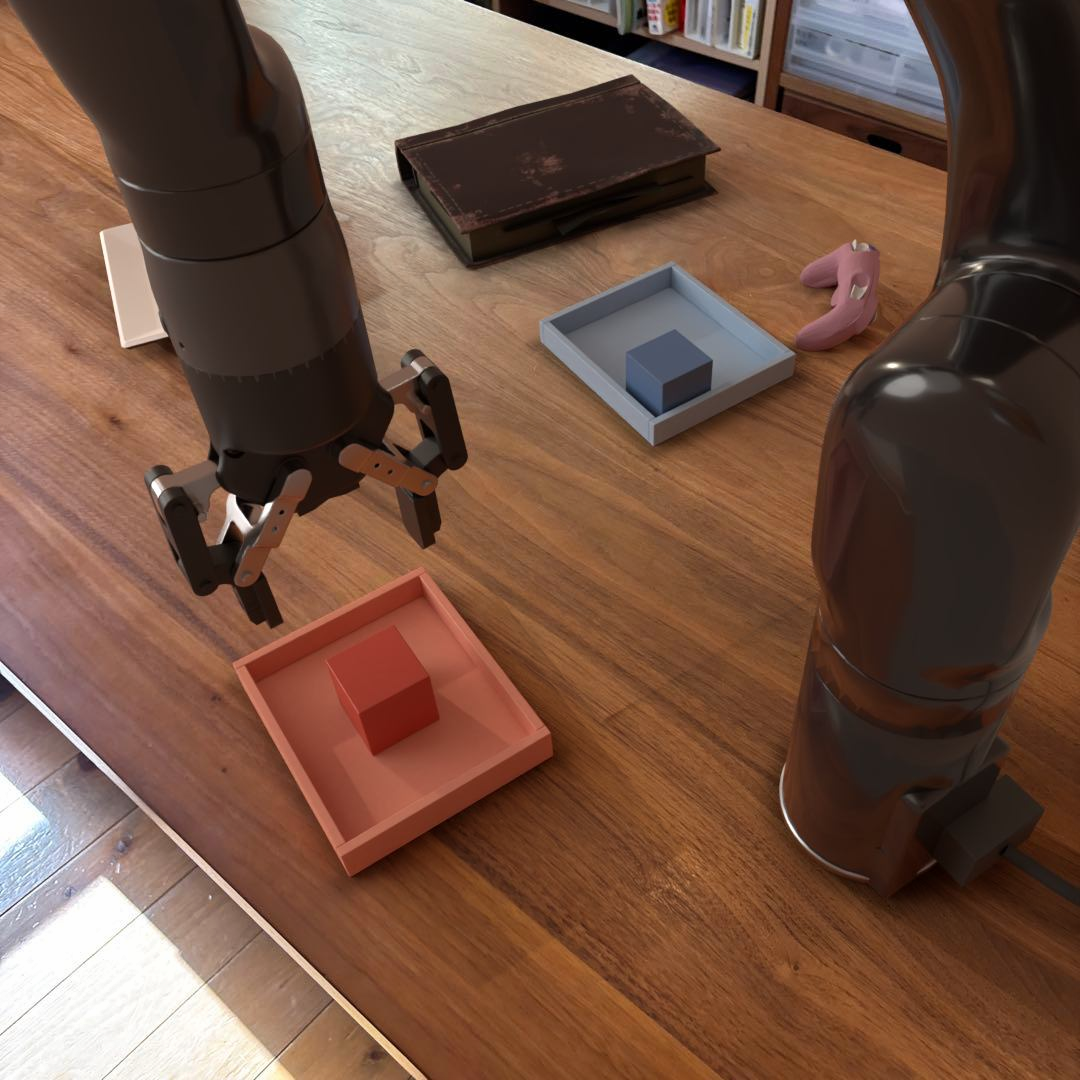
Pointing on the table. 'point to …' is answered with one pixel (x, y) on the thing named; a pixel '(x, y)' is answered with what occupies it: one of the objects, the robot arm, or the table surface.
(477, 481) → the table surface
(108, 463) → the table surface
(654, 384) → the blue block
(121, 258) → the plate
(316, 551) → the table surface
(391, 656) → the red block
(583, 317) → the blue tray
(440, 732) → the red tray
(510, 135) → the diary
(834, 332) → the video game controller
